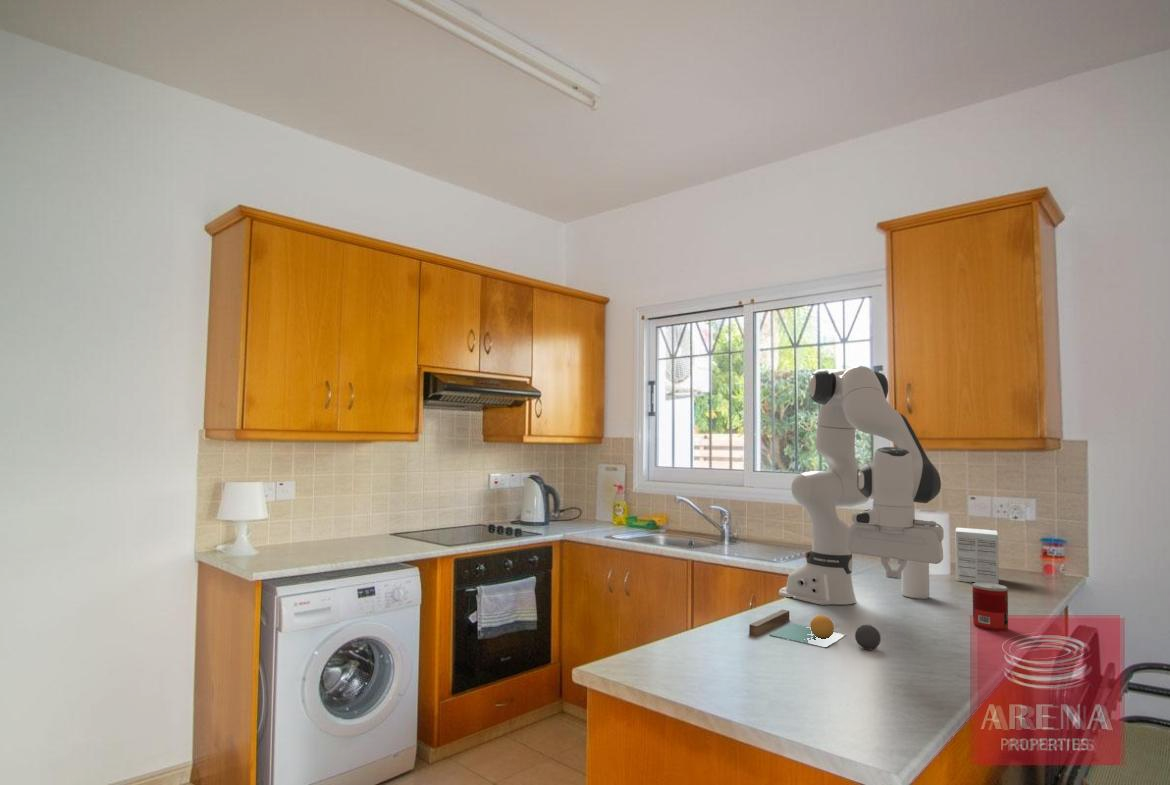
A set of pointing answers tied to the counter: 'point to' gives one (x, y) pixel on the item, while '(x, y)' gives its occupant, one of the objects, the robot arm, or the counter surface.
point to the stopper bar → (768, 623)
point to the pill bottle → (915, 580)
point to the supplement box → (977, 555)
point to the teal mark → (794, 633)
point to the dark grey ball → (867, 637)
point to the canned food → (990, 606)
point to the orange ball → (822, 626)
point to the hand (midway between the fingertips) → (893, 578)
